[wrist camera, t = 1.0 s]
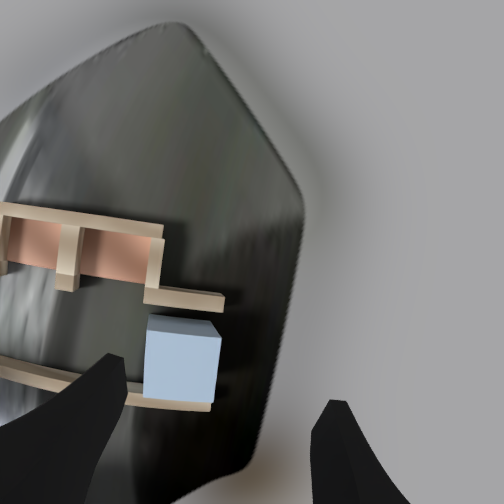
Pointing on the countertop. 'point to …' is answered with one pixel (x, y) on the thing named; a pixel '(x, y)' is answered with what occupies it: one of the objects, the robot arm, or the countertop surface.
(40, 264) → the beige flat frame
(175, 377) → the block
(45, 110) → the countertop surface
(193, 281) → the countertop surface
